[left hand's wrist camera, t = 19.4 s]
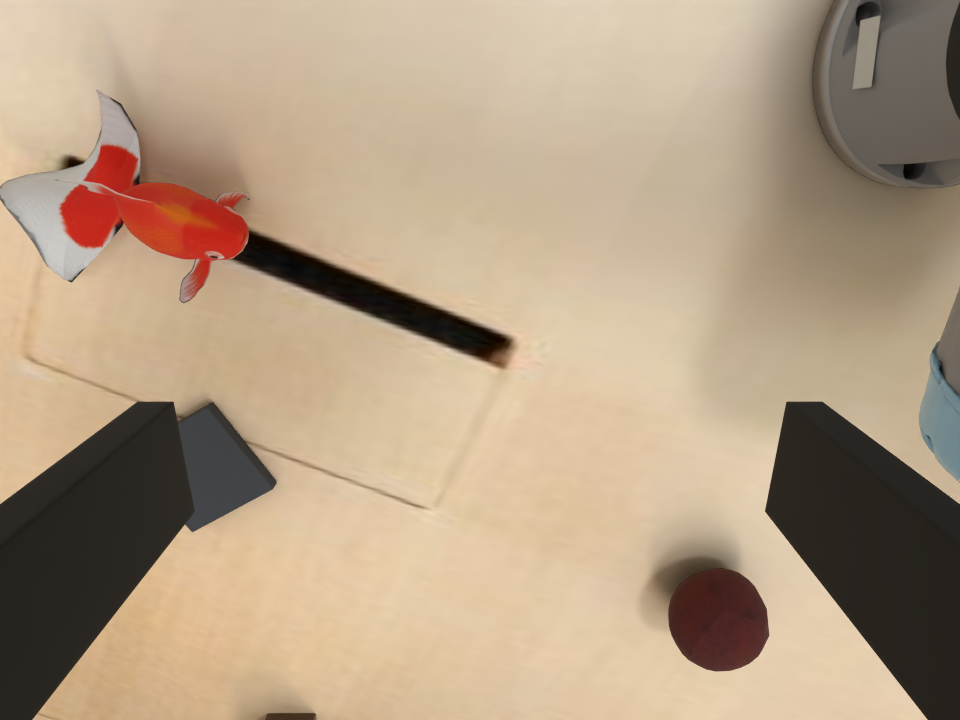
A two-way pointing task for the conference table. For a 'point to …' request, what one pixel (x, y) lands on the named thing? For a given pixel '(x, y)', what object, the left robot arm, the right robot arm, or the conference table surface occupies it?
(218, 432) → the coaster
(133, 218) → the fish
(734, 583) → the dark red ball
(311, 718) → the beam
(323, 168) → the conference table surface
